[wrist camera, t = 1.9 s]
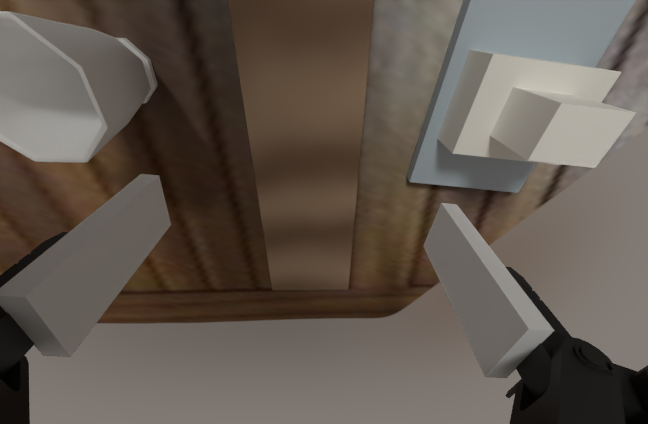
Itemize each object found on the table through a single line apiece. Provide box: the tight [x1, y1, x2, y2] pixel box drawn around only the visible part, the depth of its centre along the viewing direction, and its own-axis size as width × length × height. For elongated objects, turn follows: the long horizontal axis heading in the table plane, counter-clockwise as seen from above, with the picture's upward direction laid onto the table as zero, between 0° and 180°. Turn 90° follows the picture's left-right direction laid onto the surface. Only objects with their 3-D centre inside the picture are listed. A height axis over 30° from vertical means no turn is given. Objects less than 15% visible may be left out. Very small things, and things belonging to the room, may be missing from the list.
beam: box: [228, 0, 374, 290], centre depth 20 cm, size 26×7×6 cm, turn 0°
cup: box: [0, 11, 158, 162], centre depth 16 cm, size 7×10×8 cm
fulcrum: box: [407, 0, 636, 193], centre depth 17 cm, size 14×10×8 cm
